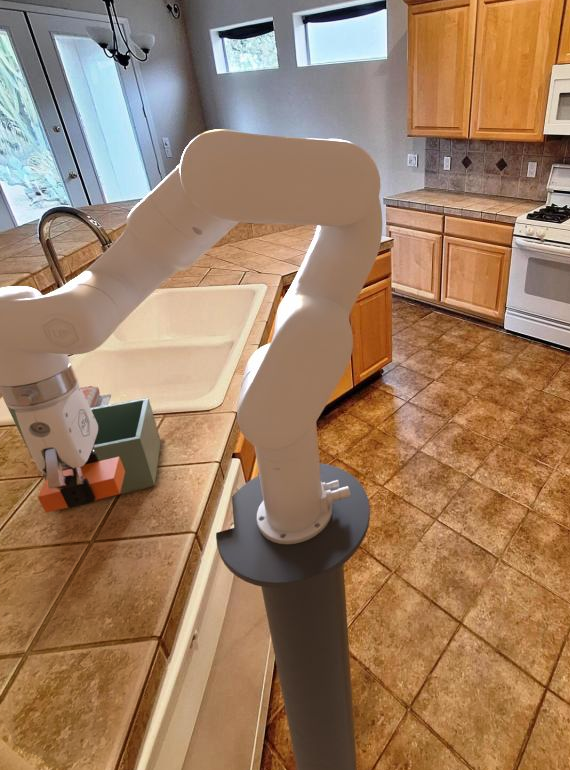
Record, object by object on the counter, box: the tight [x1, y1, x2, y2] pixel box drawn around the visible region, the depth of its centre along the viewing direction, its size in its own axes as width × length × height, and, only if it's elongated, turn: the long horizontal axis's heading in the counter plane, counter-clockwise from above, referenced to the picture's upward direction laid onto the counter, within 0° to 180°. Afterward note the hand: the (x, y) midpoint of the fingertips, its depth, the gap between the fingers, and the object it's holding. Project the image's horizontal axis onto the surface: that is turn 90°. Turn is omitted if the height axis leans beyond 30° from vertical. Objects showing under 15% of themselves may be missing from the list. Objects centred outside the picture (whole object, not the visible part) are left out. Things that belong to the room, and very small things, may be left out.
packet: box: [37, 457, 125, 514], centre depth 62 cm, size 9×5×3 cm, turn 112°
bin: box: [41, 397, 162, 500], centre depth 79 cm, size 15×14×11 cm
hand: (86, 488), depth 63 cm, fingers closed on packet, 5 cm apart
